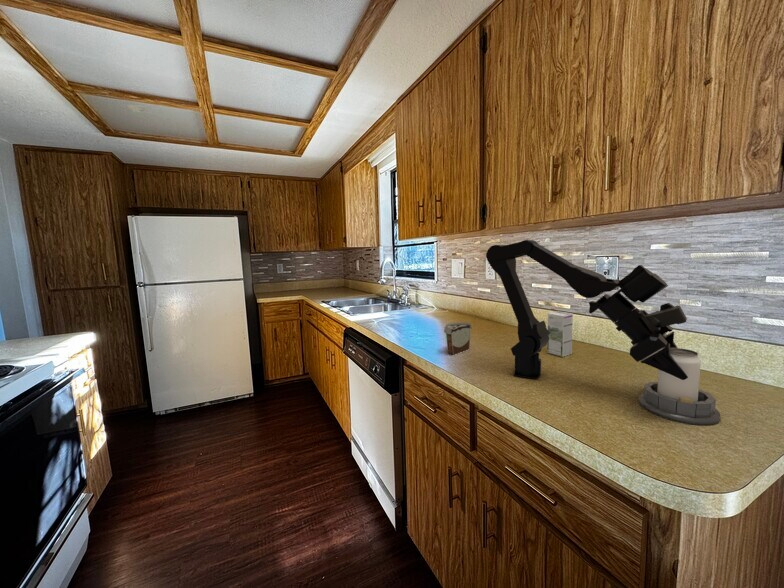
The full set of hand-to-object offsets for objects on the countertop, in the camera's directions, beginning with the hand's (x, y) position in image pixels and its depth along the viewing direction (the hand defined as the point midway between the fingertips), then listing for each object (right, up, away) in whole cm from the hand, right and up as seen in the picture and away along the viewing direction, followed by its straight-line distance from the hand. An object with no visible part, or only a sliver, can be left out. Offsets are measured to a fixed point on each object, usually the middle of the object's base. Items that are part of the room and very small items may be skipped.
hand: (686, 372), depth 66 cm
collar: (0, -9, +2) cm, 9 cm away
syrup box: (-5, -4, +42) cm, 42 cm away
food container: (-39, -5, +49) cm, 63 cm away
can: (-1, -8, +2) cm, 8 cm away
